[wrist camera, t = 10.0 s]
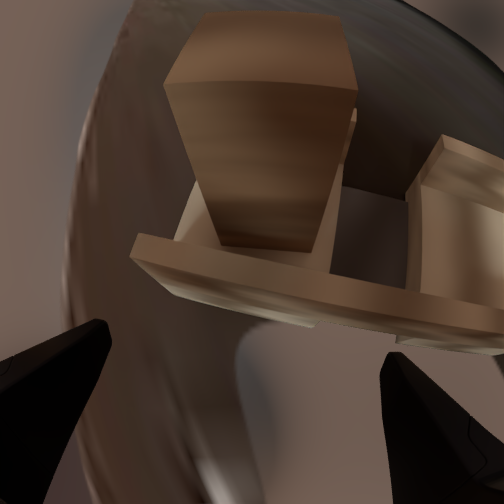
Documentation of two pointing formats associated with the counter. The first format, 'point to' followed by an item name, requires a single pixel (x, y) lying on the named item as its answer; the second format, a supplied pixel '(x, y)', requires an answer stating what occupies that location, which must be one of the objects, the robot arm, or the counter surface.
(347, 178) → the counter surface
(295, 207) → the walnut block
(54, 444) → the robot arm
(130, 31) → the counter surface
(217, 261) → the tunnel deck
